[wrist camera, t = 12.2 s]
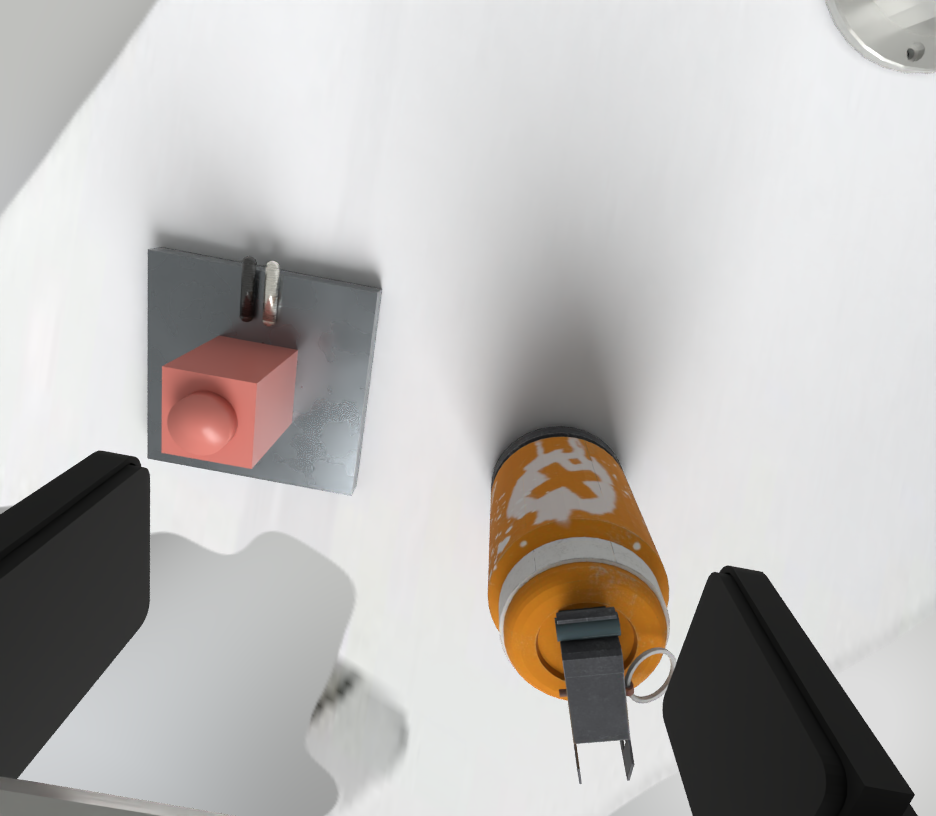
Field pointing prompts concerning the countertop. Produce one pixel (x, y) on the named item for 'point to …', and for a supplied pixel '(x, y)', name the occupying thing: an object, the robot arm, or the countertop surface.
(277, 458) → the grey plate with peg
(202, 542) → the countertop surface
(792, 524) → the countertop surface
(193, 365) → the pink cube with dome
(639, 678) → the canister
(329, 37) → the countertop surface
